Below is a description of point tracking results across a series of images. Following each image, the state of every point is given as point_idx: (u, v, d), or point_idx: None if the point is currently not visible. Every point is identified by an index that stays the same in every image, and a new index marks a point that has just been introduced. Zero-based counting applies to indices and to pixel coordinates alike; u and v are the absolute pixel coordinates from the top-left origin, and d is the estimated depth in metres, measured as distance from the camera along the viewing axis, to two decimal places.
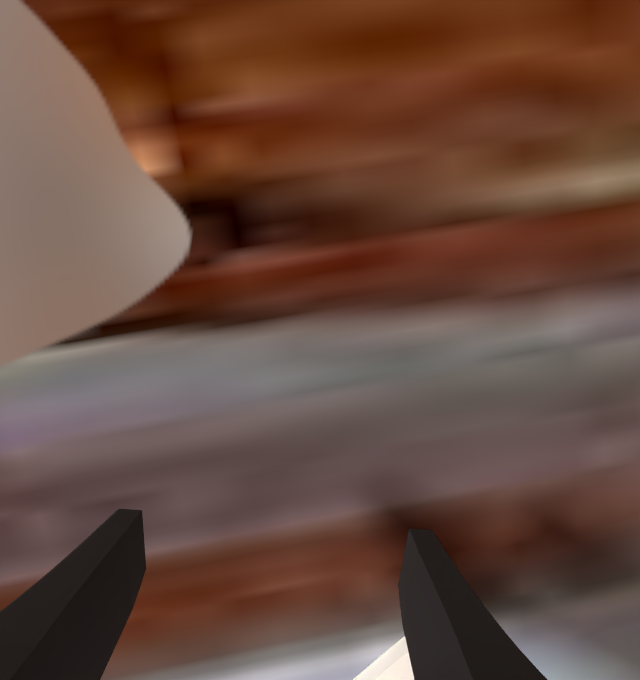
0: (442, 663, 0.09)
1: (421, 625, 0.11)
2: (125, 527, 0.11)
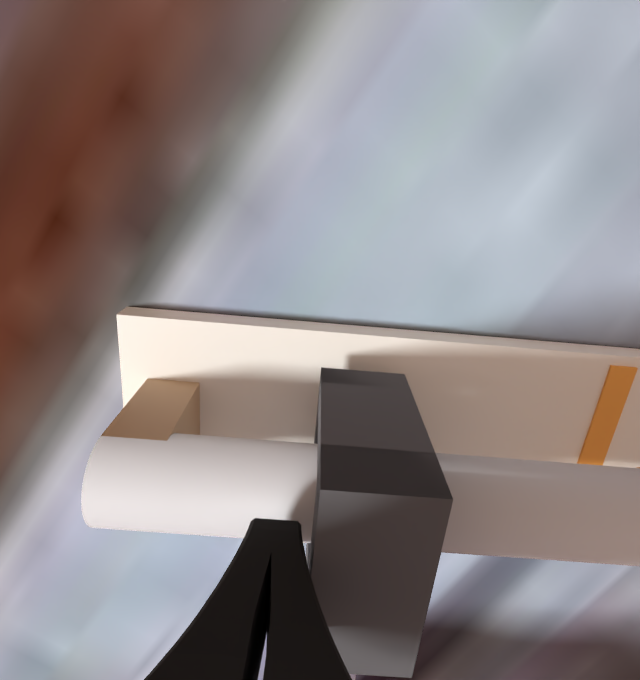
0: None
1: (268, 615, 0.11)
2: (272, 537, 0.11)
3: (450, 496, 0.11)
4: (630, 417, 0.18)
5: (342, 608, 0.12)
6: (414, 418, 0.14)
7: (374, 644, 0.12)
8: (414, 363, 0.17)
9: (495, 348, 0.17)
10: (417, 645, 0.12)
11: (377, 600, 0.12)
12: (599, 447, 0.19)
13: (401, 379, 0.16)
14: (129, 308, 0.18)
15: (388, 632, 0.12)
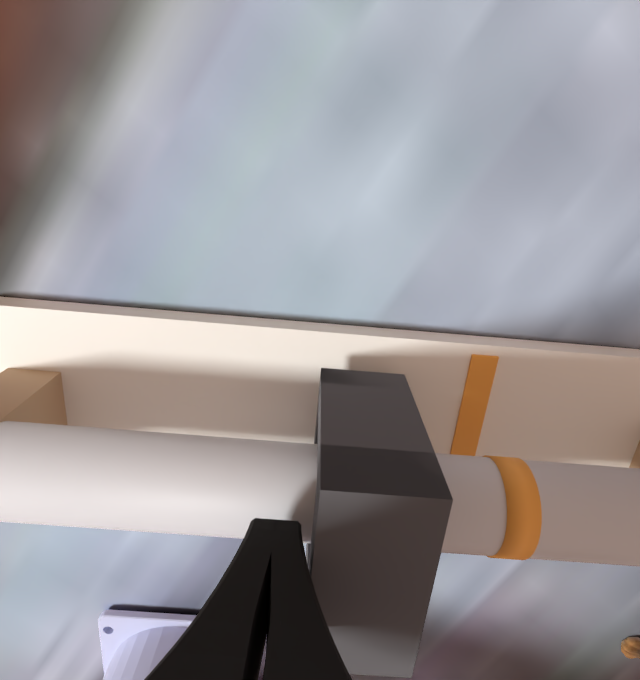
0: None
1: (268, 615, 0.11)
2: (272, 537, 0.11)
3: (450, 497, 0.11)
4: (498, 407, 0.18)
5: (342, 608, 0.12)
6: (414, 418, 0.14)
7: (373, 645, 0.12)
8: (274, 352, 0.17)
9: (354, 337, 0.17)
10: (417, 645, 0.12)
11: (377, 600, 0.12)
12: (470, 437, 0.19)
13: (401, 379, 0.16)
14: None
15: (388, 632, 0.12)
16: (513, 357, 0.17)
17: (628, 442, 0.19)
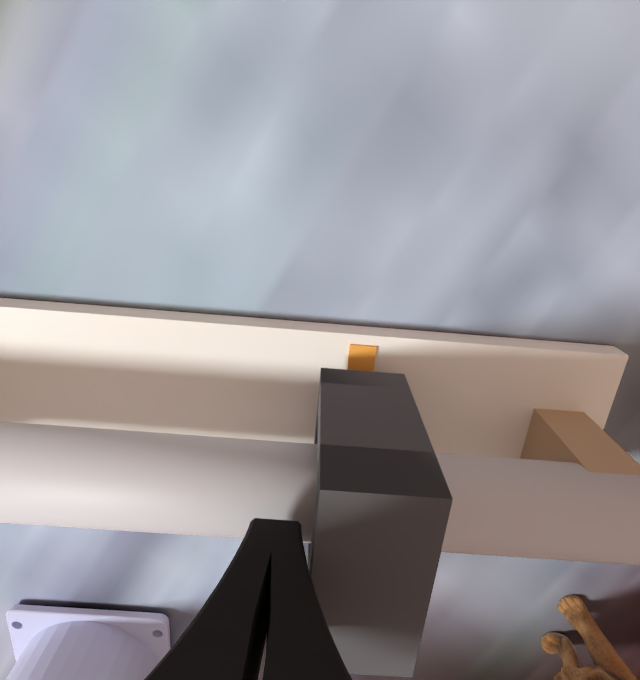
0: None
1: (268, 615, 0.11)
2: (272, 537, 0.11)
3: (450, 496, 0.11)
4: None
5: (342, 608, 0.12)
6: (414, 418, 0.14)
7: (374, 644, 0.12)
8: (151, 343, 0.17)
9: (230, 327, 0.17)
10: (417, 645, 0.12)
11: (377, 600, 0.12)
12: None
13: (401, 379, 0.16)
14: None
15: (388, 632, 0.12)
16: (392, 347, 0.17)
17: (517, 433, 0.19)
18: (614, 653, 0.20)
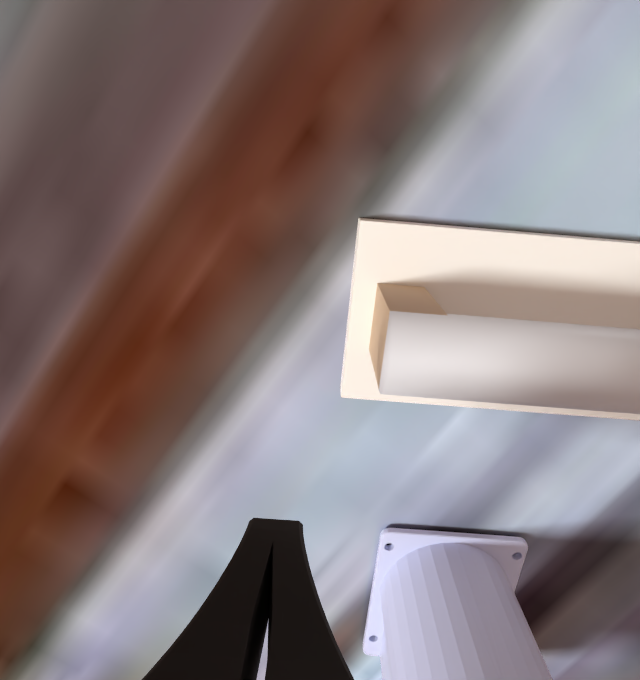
0: None
1: (270, 615, 0.11)
2: (270, 537, 0.11)
3: None
4: None
5: None
6: None
7: None
8: (624, 267, 0.19)
9: None
10: None
11: None
12: None
13: None
14: (362, 218, 0.19)
15: None
16: None
17: None
18: None
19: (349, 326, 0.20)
